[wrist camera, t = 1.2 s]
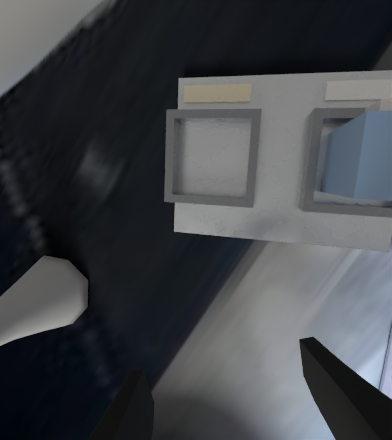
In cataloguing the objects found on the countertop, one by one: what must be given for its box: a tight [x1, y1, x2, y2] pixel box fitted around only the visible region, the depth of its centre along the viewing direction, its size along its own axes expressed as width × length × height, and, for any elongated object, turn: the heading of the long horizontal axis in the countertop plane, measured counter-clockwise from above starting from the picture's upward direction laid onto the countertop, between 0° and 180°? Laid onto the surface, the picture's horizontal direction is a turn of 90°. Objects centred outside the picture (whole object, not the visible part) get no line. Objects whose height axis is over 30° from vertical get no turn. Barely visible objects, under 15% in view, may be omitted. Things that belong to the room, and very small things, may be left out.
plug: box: [320, 99, 392, 201], centre depth 15 cm, size 4×5×6 cm
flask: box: [0, 256, 88, 346], centre depth 22 cm, size 7×7×10 cm
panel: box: [164, 70, 392, 252], centre depth 18 cm, size 17×12×3 cm
